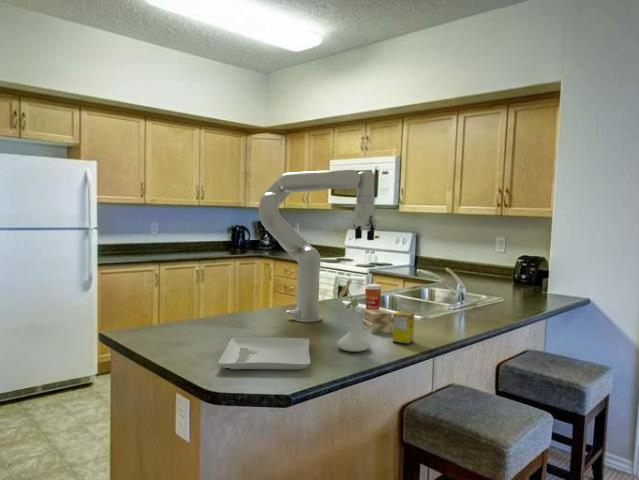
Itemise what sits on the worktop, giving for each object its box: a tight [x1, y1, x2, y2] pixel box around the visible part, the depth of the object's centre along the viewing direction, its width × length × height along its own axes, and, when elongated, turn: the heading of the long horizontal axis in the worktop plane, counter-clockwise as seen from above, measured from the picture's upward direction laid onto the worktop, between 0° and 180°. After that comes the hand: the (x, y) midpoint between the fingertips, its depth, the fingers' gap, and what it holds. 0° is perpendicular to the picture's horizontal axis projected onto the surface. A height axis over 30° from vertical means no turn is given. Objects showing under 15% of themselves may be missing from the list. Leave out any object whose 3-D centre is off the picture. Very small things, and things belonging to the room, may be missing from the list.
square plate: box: [217, 337, 311, 370], centre depth 152 cm, size 27×27×4 cm
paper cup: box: [364, 283, 383, 310], centre depth 216 cm, size 8×8×14 cm
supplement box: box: [392, 310, 415, 346], centre depth 174 cm, size 6×6×11 cm
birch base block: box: [361, 318, 393, 335], centre depth 190 cm, size 9×9×4 cm
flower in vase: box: [336, 278, 371, 353], centre depth 162 cm, size 13×11×25 cm
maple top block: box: [363, 308, 392, 324], centre depth 190 cm, size 8×8×4 cm
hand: (364, 239), depth 208 cm, fingers open, 9 cm apart
